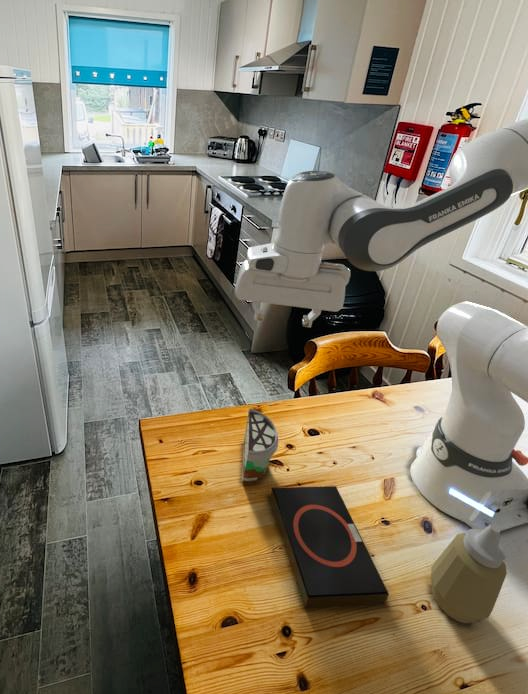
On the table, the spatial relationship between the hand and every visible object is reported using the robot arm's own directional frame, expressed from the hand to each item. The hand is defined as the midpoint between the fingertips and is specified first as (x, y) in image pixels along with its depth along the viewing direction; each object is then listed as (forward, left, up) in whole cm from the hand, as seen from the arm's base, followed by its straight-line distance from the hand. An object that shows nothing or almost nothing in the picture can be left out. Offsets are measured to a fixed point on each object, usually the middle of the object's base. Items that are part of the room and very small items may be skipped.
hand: (281, 322), depth 79 cm
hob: (-4, +23, -31) cm, 39 cm away
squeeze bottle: (-22, +32, -31) cm, 50 cm away
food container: (+3, +7, -31) cm, 32 cm away
